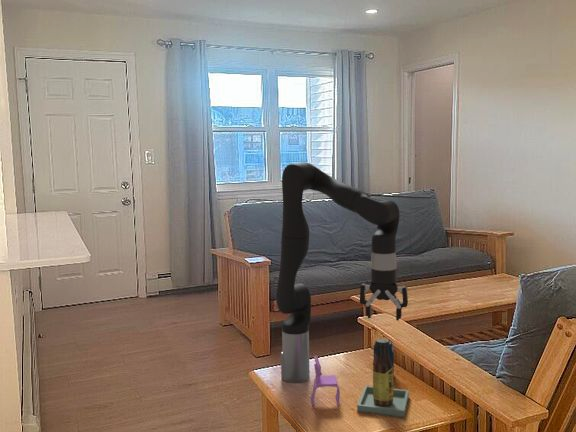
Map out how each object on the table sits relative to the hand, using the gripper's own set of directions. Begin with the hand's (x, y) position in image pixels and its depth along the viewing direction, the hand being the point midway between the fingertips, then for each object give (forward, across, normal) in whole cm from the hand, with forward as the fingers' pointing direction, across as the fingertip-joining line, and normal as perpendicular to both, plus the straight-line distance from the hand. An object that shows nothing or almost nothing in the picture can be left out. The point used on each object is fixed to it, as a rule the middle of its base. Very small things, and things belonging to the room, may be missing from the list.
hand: (383, 318), depth 166 cm
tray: (+28, 0, 0) cm, 28 cm away
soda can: (+28, -3, +22) cm, 36 cm away
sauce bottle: (+27, 0, 0) cm, 27 cm away
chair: (+28, -18, -3) cm, 33 cm away
